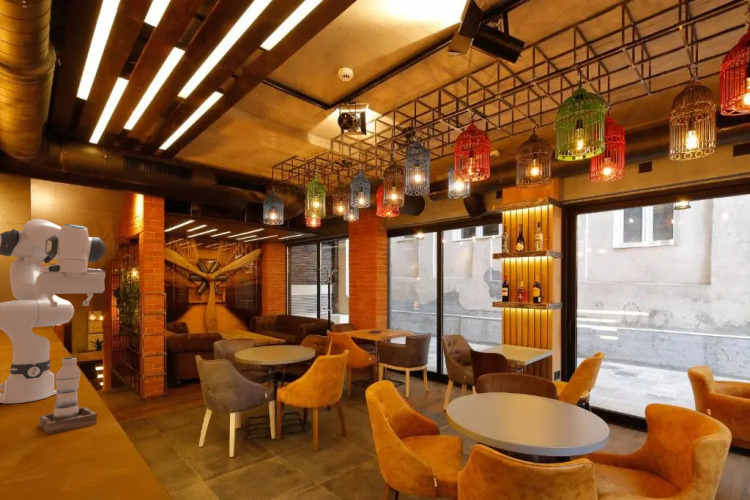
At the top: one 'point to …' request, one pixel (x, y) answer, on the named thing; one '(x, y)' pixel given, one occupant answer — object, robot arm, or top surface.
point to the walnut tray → (68, 421)
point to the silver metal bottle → (67, 390)
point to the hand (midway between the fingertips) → (70, 306)
